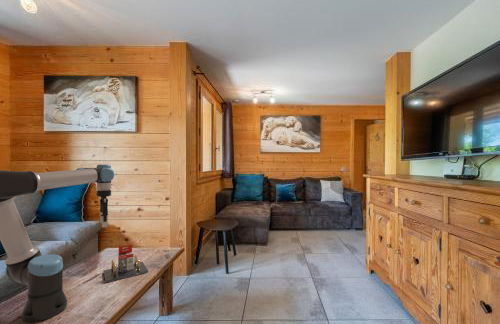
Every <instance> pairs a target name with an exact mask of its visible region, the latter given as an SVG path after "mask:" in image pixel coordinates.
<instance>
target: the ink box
mask: <svg viewBox="0 0 500 324" xmlns="http://www.w3.org/2000/svg"><path fill="white" fill-rule="evenodd" d="M134 256H135V255H134V252H133V243H132V244H126V245H121V246H120V245H119V246H118V254H117V258H118V259H117V262H118V263H117V267H118V272H119V273H121V272H125V271H129V270H133V269H134Z"/></svg>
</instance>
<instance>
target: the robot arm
mask: <svg viewBox="0 0 500 324" xmlns="http://www.w3.org/2000/svg"><path fill="white" fill-rule="evenodd" d="M114 178H115V171H114V169H112V166H111V164H97V165H96V167H77V168H76V169H73V170H72V169H71V170H59V171H58V170H57V171H46V172H34V171H32V170H27V171H20V170H19V171H18V170H17V171H16V170H5V169H1V170H0V243H1V244H2V247H3V249H4V251H5V254H6V256H7V258H6V259H5V261H4V263H5V265H6V266H5V275H6V276H7V278H8V279H10V280H11V281H13V282H15V283H19V284H22V285H25V286H27V300H26V302H25V305H24V307H23V309H22V313H21V321H22V322H24V323H37V322H41V321H42V322H43V321H44V320H48V319H50V318H52V317H55V316H57V315H59V314H60V313H62V312H63V311H65V310H66V308H67V307H68V298H67V297H66V294H65V292H64V288H63V286H64V285H63V283H64V282H63V279H64V277H63V276H64V275H63V274H64V263H63V262H64V261H63V257H62V256H61V255H58V254H53V253H52V254H48V253H47V254H42V253H41V250H40V248H39V247H37V246H34V245H33V243H32V241H31V238H30V236H29V234H28V231H27V229H26V226H25V225H24V222H23V220H22V217H21V215H20V213H19V210H18V208H17V205H16V203H15V199H16V198H17V197H20V196H24V195H25V196H26V195H31V194H32V195H33V194H36V192H38V191H42V190H49V189H57V188H65V187H70V186H72V187H73V186H77V185H78V186H79V185H85V184H87V185H88V184H93V183H96V197H97V198H98V197H99V198H100V199H99V205H100V207H99V213H100V215H99V220H100V221H99V222H100V224H101V228H107V227H109V226H108V221H109V220H108V216H109V211H108V209H109V208H108V207H109V200H108V198H107V197H111V196H112V190H111V189H112V186H113V183H112V180H113V179H114Z"/></svg>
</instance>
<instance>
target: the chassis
mask: <svg viewBox="0 0 500 324" xmlns="http://www.w3.org/2000/svg"><path fill="white" fill-rule="evenodd" d="M102 273H103V277H104V281H105V283H106V284H107V283H111V282H114V281H120V280H123V279H127V278H130V277H134V276H135V277H136V276H138V275H144V274H146V273H149V269H148V267H147V266H146V265H145V263H144V262H143V261H141V259H138V255H134V269H133V270H129V271H125V272H121V273H119V272H118V266H117V264H115V259H113V260H111V268H109V269H104V270H103V271H102Z"/></svg>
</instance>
